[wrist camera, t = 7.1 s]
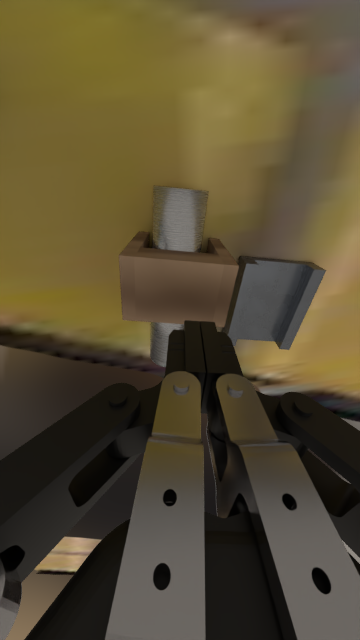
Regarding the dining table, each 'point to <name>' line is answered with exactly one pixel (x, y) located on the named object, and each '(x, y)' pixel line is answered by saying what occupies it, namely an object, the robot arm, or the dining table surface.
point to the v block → (271, 299)
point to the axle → (175, 243)
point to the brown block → (176, 283)
